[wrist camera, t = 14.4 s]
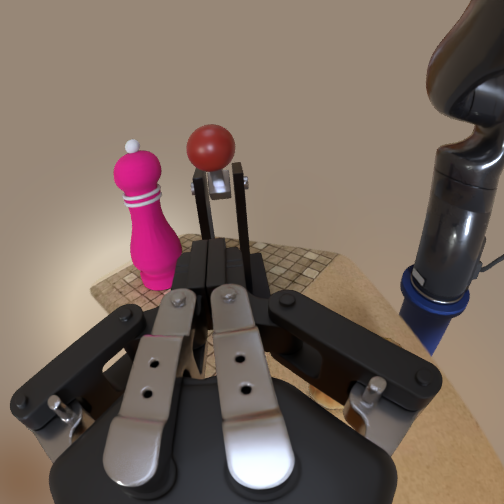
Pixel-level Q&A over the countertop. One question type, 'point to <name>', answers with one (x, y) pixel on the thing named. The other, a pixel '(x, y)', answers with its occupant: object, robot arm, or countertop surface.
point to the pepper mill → (147, 217)
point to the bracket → (251, 262)
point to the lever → (213, 157)
